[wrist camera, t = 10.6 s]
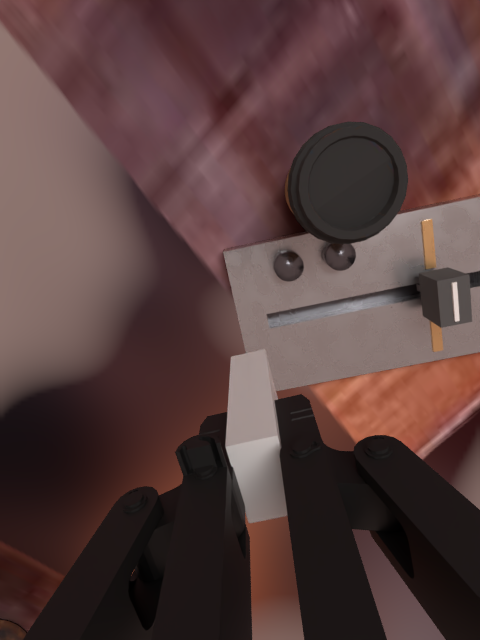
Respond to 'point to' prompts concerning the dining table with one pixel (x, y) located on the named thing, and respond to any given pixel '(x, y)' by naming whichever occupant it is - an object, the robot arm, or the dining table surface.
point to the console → (355, 296)
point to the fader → (445, 296)
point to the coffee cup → (347, 183)
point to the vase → (11, 631)
